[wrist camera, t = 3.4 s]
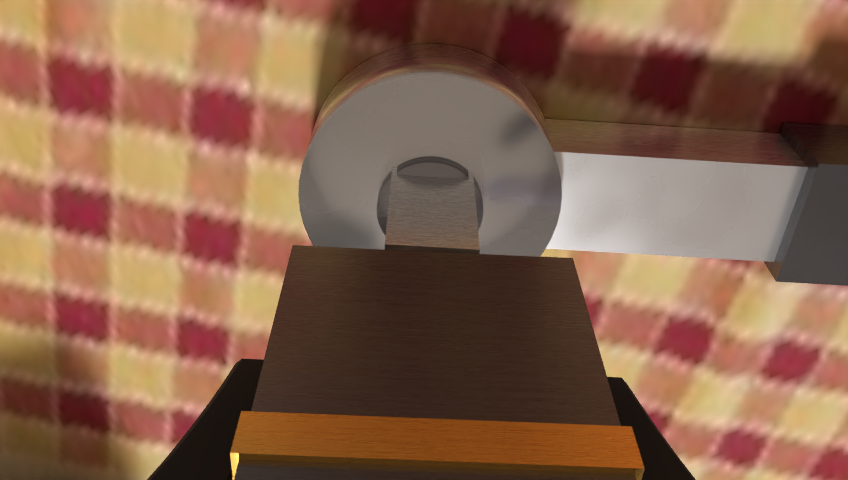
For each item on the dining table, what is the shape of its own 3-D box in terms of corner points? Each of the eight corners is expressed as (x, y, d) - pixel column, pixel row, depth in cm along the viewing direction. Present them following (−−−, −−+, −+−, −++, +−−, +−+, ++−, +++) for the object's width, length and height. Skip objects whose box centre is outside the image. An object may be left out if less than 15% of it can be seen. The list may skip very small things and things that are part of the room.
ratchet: (1052, 83, 19) (1247, 195, 14) (946, 288, 22) (1078, 433, 18) (309, 35, 18) (268, 135, 14) (312, 251, 22) (280, 390, 17)
